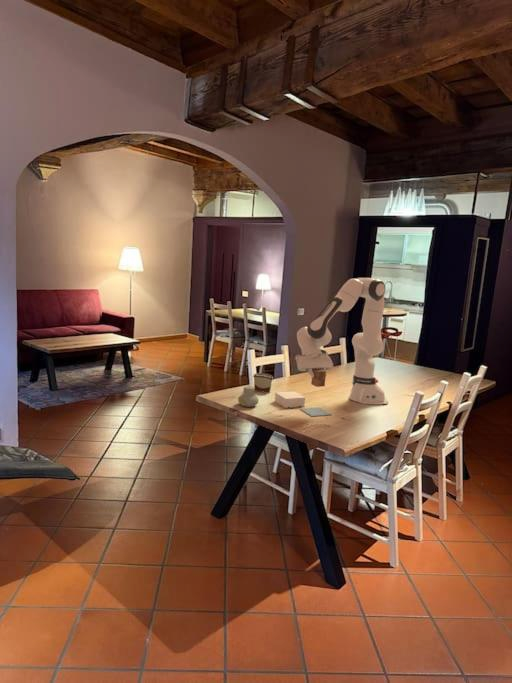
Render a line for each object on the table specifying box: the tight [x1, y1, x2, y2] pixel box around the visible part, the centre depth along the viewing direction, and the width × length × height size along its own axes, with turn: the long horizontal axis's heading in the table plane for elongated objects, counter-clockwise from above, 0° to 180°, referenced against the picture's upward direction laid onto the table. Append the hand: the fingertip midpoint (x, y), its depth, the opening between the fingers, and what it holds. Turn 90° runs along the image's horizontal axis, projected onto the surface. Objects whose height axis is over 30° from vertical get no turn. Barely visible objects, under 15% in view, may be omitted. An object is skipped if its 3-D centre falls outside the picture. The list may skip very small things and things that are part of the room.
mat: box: [299, 406, 332, 418], centre depth 245 cm, size 12×12×1 cm
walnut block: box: [310, 369, 327, 388], centre depth 242 cm, size 5×5×8 cm
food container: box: [252, 372, 274, 394], centre depth 279 cm, size 12×6×10 cm, turn 71°
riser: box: [274, 391, 306, 409], centre depth 256 cm, size 12×12×5 cm
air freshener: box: [237, 385, 259, 408], centre depth 248 cm, size 11×8×10 cm
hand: (319, 377), depth 241 cm, fingers closed on walnut block, 5 cm apart
